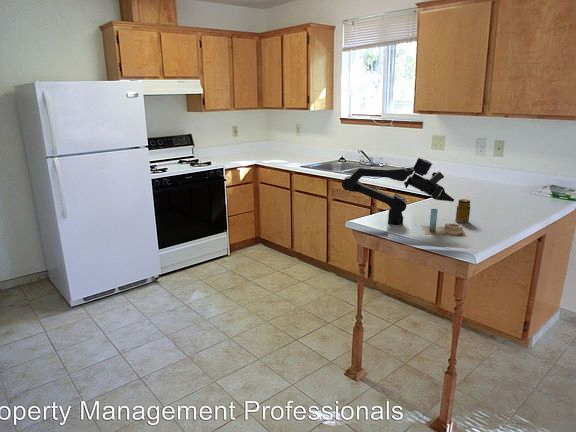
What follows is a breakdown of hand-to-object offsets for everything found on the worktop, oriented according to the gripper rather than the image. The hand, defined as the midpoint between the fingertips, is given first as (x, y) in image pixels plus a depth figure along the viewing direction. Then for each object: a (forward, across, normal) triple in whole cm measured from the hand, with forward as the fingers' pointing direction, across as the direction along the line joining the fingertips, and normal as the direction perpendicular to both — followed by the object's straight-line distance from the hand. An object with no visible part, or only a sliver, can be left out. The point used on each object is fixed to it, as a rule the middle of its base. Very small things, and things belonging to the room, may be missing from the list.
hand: (452, 199), depth 195 cm
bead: (+7, -4, +12) cm, 15 cm away
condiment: (+13, +13, +9) cm, 20 cm away
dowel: (-1, -4, +16) cm, 17 cm away
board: (+4, -3, +15) cm, 16 cm away
